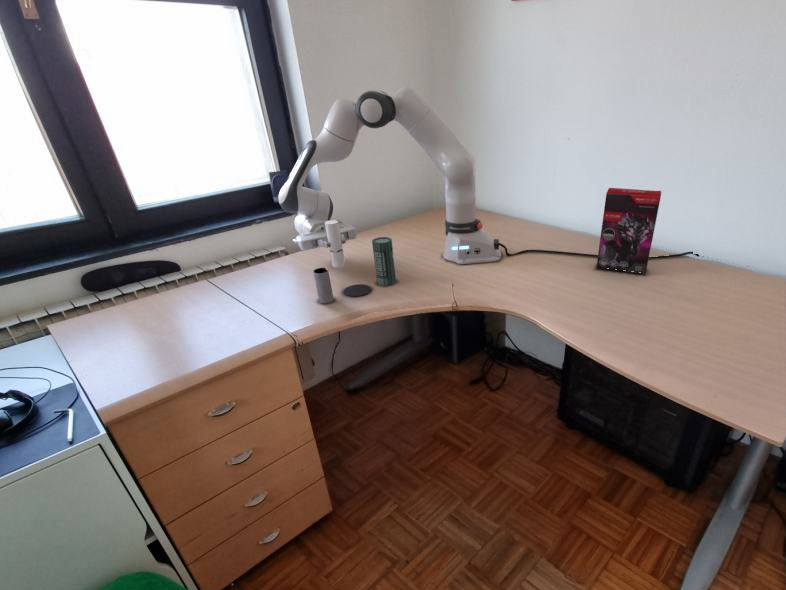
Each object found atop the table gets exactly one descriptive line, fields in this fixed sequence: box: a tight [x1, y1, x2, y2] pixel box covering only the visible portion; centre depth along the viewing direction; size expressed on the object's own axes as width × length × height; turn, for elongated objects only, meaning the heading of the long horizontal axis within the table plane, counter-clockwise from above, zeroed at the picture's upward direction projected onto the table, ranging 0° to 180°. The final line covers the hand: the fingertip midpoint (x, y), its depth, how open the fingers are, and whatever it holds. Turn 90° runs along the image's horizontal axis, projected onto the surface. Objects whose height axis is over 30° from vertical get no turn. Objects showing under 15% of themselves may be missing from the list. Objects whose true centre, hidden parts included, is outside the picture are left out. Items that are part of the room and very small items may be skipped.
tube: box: [325, 219, 346, 268], centre depth 154 cm, size 4×4×15 cm
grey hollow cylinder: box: [312, 267, 334, 304], centre depth 143 cm, size 4×4×10 cm
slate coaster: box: [343, 283, 372, 298], centre depth 151 cm, size 9×9×1 cm
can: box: [371, 236, 397, 287], centre depth 153 cm, size 6×6×15 cm
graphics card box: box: [596, 187, 662, 275], centre depth 155 cm, size 17×7×27 cm, turn 68°
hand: (336, 243), depth 153 cm, fingers closed on tube, 4 cm apart
